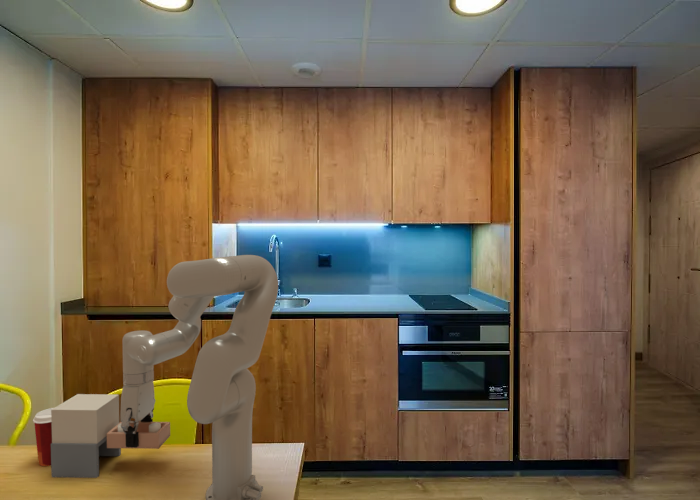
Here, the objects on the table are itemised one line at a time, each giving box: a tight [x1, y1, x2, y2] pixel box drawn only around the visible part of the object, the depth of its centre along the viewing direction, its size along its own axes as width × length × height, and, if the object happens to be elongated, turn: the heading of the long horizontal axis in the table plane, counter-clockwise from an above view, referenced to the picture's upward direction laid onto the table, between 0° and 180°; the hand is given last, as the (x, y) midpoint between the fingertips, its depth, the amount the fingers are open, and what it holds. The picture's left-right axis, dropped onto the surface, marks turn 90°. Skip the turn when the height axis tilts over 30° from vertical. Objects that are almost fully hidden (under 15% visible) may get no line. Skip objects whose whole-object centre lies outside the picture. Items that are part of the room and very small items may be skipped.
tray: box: [107, 421, 171, 450], centre depth 114 cm, size 14×7×5 cm, turn 90°
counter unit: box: [50, 393, 122, 479], centre depth 114 cm, size 12×11×18 cm
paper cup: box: [32, 407, 54, 467], centre depth 116 cm, size 8×8×14 cm
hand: (139, 439), depth 114 cm, fingers closed on tray, 7 cm apart
